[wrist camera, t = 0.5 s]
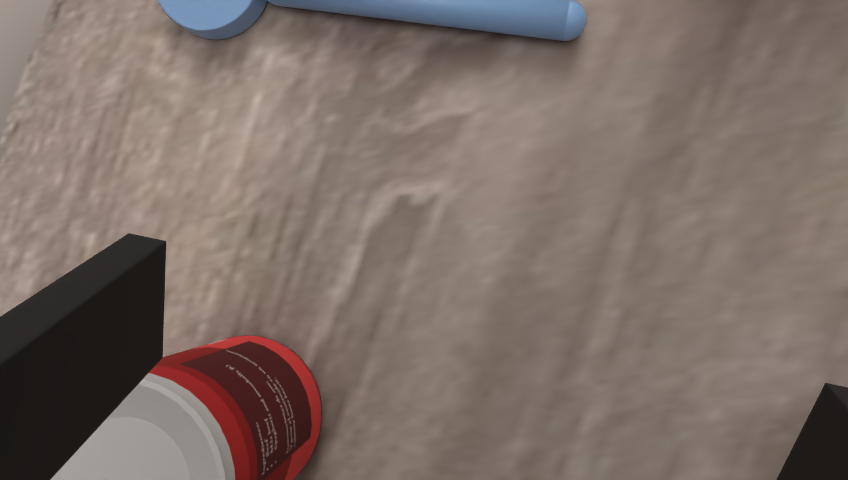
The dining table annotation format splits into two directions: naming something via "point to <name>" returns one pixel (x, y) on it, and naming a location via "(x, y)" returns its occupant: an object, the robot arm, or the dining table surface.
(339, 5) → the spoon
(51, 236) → the dining table surface
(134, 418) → the canned food
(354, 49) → the dining table surface
